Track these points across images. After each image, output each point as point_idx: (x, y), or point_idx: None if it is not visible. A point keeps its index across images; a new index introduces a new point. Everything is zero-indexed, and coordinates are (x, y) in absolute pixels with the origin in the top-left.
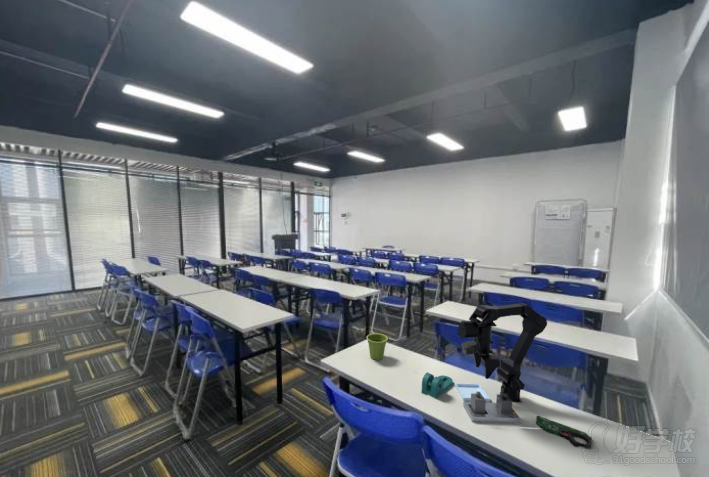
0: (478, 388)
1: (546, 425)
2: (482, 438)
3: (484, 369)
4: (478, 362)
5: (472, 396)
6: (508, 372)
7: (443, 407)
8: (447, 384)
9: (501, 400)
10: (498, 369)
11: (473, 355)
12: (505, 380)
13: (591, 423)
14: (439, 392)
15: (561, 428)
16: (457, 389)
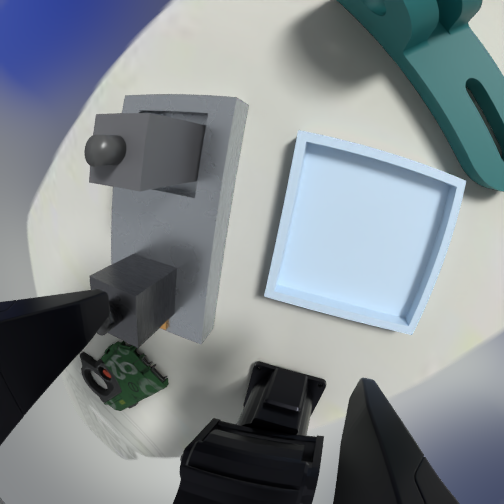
0: (393, 311)
1: (121, 362)
2: (85, 110)
3: (14, 315)
4: (352, 447)
5: (131, 113)
6: (184, 483)
7: (263, 10)
8: (451, 112)
9: (92, 276)
10: (286, 483)
11: (446, 496)
12: (222, 437)
13: (160, 448)
14: (367, 16)
15: (118, 383)
16: (408, 159)
